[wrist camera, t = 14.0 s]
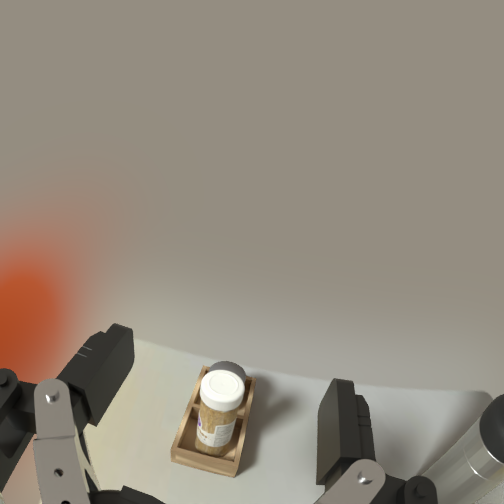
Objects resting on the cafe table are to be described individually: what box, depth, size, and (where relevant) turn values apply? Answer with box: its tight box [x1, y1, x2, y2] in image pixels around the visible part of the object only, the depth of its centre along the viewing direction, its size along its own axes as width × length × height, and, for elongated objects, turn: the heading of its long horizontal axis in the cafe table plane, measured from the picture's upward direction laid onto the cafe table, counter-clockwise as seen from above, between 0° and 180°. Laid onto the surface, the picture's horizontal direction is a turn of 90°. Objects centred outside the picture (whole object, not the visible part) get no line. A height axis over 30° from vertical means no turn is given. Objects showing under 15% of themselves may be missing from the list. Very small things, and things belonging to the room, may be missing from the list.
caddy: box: [171, 366, 256, 478], centre depth 39 cm, size 16×8×4 cm, turn 172°
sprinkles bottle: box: [195, 370, 245, 458], centre depth 33 cm, size 5×5×14 cm
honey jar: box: [209, 361, 246, 383], centre depth 42 cm, size 5×5×7 cm
